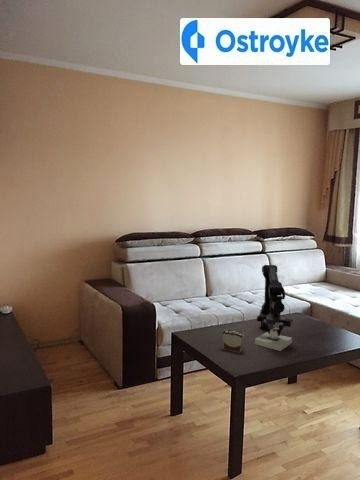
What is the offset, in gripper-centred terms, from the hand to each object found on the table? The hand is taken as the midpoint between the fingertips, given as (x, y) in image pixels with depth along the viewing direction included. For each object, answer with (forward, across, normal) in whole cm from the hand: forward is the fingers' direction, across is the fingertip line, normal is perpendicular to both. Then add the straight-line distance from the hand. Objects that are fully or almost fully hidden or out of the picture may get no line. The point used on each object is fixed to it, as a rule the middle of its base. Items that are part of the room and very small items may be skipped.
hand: (274, 335), depth 217 cm
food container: (+5, -15, -19) cm, 25 cm away
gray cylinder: (+4, 0, 0) cm, 4 cm away
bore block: (+5, 0, 0) cm, 5 cm away
